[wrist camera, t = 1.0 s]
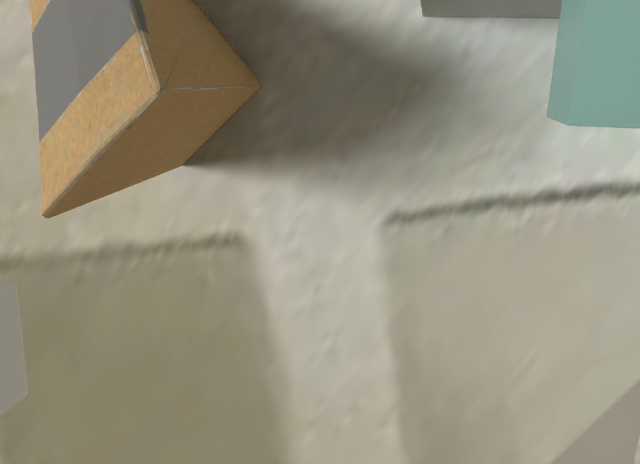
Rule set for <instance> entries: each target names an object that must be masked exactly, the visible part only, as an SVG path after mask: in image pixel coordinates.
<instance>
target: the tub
mask: <svg viewBox="0 0 640 464" xmlns="http://www.w3.org/2000/svg"><path fill="white" fill-rule="evenodd" d="M561 5H562V0H421V6H422V13H423V16H427V17H498V18H560V12H561Z"/></svg>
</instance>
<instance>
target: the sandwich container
mask: <svg viewBox="0 0 640 464" xmlns="http://www.w3.org/2000/svg"><path fill="white" fill-rule="evenodd" d="M28 3H29V11H30V20H31V30H32V41H33V52H34V63H35V79H36V95H37V106H38V119H39V139H40V163H41V188H42V215H43V216H44V217H45V218H51V217H53V216H56V215H58V214H61V213H63V212H66V211H69V210H71V209H74V208H76V207H79V206H81V205H84V204H86V203H89V202H91V201H94V200H97V199H99V198H102V197H104V196H107V195H109V194H112V193H114V192H117V191H119V190H122V189H124V188H127V187H130V186H132V185H135V184H137V183H140V182H142V181H145V180H147V179H150V178H152V177H155V176H157V175H160V174H162V173H165V172H167V171H170V170H172V169H175V168H177V167H180V166H182V165H183V164H184V163H185V162H186V161H187V160H188V159H189V158H190V157H191V156H192V155H193V154H194V153H195V152H196V151H197V150H198V149H199V148H200V147H201V146H202V145H203V144H204V143H205V142H206V141H207V140H208V139H209V138H210V137H211V136H212V135H213V134H214V133H215V132H216V131H217V130H218V129H219V128H220V127H221V126H222V125H223V124H224V123H225V122H226V121H227V120H228V119H229V118H230V117H231V116H232V115H233V114H234V113H235V112H236V111H237V110H238V109H239V108H240V107H241V106H242V105H243V104H244V103H245V102H246V101H247V100H248V99H249V98H250V97H251V96H252V95H253V94H254V93H255V92H256V91H257V90H258V89H259V88H260V87H261V83H260V81H259V80H258V79H257V77H256V76H255V75H254V74H253V73H252V71H251V70H250V69H249V68H248V66H247V65H246V64H245V63H244V62H243V60H242V59H241V58H240V57H239V56H238V54H237V53H236V52H235V51H234V49H233V48H232V47H231V46H230V45H229V43H228V42H227V41H226V40H225V39H224V37H223V36H222V35H221V34H220V32H219V31H218V30H217V29H216V28H215V26H214V25H213V24H212V23H211V22H210V20H209V19H208V18H207V17H206V15H205V14H204V13H203V12H202V11H201V9H200V8H199V7H198V6H197V5H196V4H195V3H194V2H193V1H192V0H28Z"/></svg>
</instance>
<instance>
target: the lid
mask: <svg viewBox="0 0 640 464" xmlns="http://www.w3.org/2000/svg"><path fill="white" fill-rule="evenodd" d="M547 117H548V118H551V119H553V120H556V121H558V122H561V123H563V124H566V125H571V126H594V127H617V128H640V0H562V5H561V12H560V20H559V27H558V35H557V42H556V50H555V57H554V65H553V72H552V80H551V87H550V95H549V102H548V110H547Z"/></svg>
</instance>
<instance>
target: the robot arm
mask: <svg viewBox="0 0 640 464" xmlns="http://www.w3.org/2000/svg"><path fill="white" fill-rule="evenodd" d="M28 394H29V393H28V384H27V375H26V366H25V356H24V347H23V338H22V329H21V319H20V310H19V301H18V291H17V284H16V283H7V282H0V416H2V415H3V414H4V413H5V412H7V411H8V410H9V409H10V408H12V407H13V406H14V405H15V404H17V403H18V402H19V401H20V400H22V399H23V398H24V397H25V396H27V395H28ZM634 464H640V438H639V442H638V447H637V451H636V456H635V460H634Z"/></svg>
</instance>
